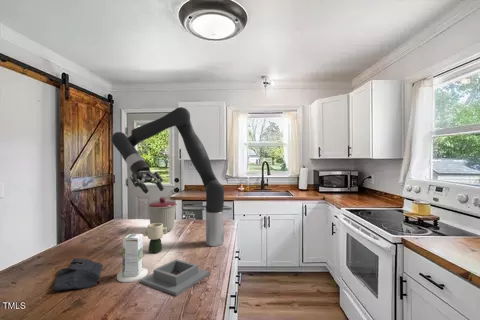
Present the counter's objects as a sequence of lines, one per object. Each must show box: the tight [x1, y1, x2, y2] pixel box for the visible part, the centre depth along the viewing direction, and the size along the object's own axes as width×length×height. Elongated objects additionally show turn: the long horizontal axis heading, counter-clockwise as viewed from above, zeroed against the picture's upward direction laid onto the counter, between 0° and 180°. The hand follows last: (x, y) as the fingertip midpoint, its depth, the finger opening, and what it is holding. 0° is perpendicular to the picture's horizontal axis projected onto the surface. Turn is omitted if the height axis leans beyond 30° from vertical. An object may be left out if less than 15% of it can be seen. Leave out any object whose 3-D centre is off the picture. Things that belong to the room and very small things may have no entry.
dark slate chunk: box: [53, 257, 103, 292], centre depth 95 cm, size 15×22×5 cm
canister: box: [146, 196, 178, 233], centre depth 158 cm, size 18×18×21 cm
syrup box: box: [121, 233, 144, 276], centre depth 96 cm, size 6×6×14 cm
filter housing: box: [139, 258, 211, 297], centre depth 94 cm, size 18×18×4 cm
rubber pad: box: [116, 267, 149, 284], centre depth 96 cm, size 11×11×1 cm
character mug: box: [142, 223, 168, 253], centre depth 122 cm, size 11×7×13 cm, turn 112°
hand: (155, 190), depth 111 cm, fingers open, 8 cm apart
